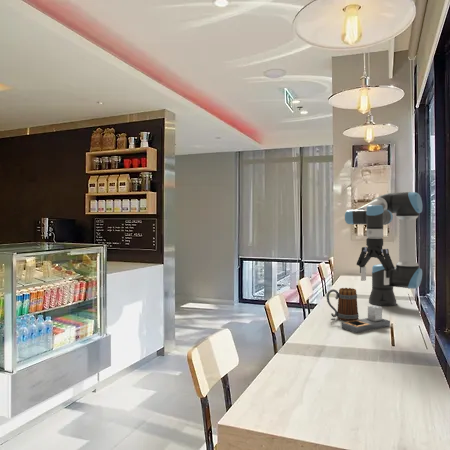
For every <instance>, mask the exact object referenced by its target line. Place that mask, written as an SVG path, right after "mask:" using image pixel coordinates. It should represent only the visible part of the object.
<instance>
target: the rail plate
mask: <svg viewBox="0 0 450 450" xmlns="http://www.w3.org/2000/svg"><path fill="white" fill-rule="evenodd" d="M387 327H391V320H388V319H385V318H382V321H380V322H372V321H369V320H368V317H366V318H365V317H364V318H360V319H359V318H358V320H354V321H343V322H341V329H343V330H345V331H349V332H353V333H355V334H359V333H364V332H369V331H373V330H378V329H383V328H387Z"/></svg>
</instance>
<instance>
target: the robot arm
mask: <svg viewBox="0 0 450 450" xmlns="http://www.w3.org/2000/svg"><path fill="white" fill-rule="evenodd" d="M422 212H423V200H422V197H421V195H420V194H419V193H418V192H414V191H411V192H410V191H409V192H408V191H407V192H389V193H384V194H381V195H379V196H377V197H375V198H373V199H372V200H371V201H369V202H368V203H367V204H364V205H363V206H360V207H358V208H356V209H347V210H346V211H345V212H344V213H345V214H344V221H345V223H346V224H347V225H366V227H365V228H366V237H367V238H366V241H365V242H366V243H365V244H366V246H363V247H361V252H360V255H359V257H358V260H357V261H356V266H359V273H360V282H361V281H367V267H366V265H367V263H368V262H369V261H370V260H371V258H376V259H377V260H378V261H379V263H378V264H374V265H373V266H372V269H371V292H370V295H369V297H368V302H369V304H371V305H376V306H380V307H388V306H389V307H390V306H392V307H393V306H396V305H397V298H396V295H395V292H394V288H402V289H409V290H410V289H411V290H412V289H413V290H416V289H418V288H419V287H420V285H421V284H422V280H423V269H422V268H420V264H419V263H418V262H417V261H416V257H417V255H416V253H417V252H416V251H417V249H416V247H417V245H416V244H417V241H416V239H417V237H416V236H417V233H416V231H417V230H416V228H417V227H416V225H417V222H416V221H417V219H418V218H419V215H420V214H421V213H422ZM393 214H395V217H396V218H397V219H398V233H399V234H398V256H399V257H398V262H397V263H396V264H395V266H394V263H393V260H392V259H391V255H390V251H389V249H388V248H383V247H384V226H386V225H388V224H389V225H390V224H391V222H392V221H393V217H394V216H393Z"/></svg>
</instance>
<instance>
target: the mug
mask: <svg viewBox="0 0 450 450" xmlns="http://www.w3.org/2000/svg"><path fill="white" fill-rule="evenodd" d="M331 293H336V296H335V297H334V298H335V300H337V310H336V308H335V307H334V306H333V305H332V304H331V302H330V294H331ZM326 302H327V304H328V306H329V307H330V308H331V309H332V310H333V311H334V313H333V312H331V313H330V315H331V317H333V318H337V319H338V320H341V321H343V322H349V321H354V320H359V316H360V315H359V311H358V310H359V309H358V294H357V289H356V288H352V287H345V288H344V287H341V288H339V290H336V289H334V288H332V289H329V290H328V291H327V293H326Z"/></svg>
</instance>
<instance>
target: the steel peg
mask: <svg viewBox="0 0 450 450" xmlns="http://www.w3.org/2000/svg"><path fill="white" fill-rule="evenodd" d="M367 318H368V320H369V321H372V322H380V321H382V319H383V306H381V305H374V304H371V305H368V306H367Z"/></svg>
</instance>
